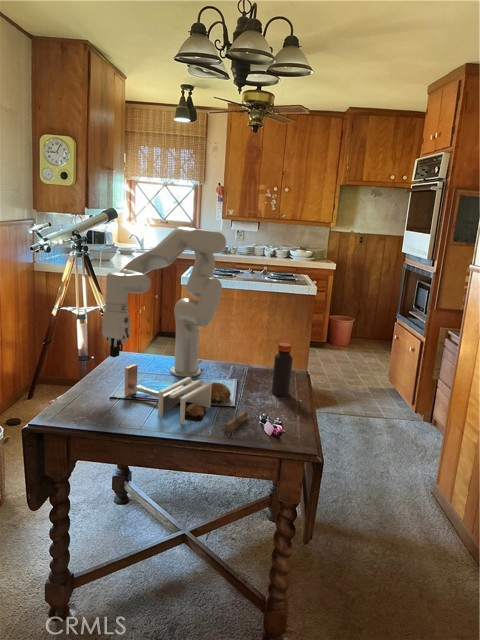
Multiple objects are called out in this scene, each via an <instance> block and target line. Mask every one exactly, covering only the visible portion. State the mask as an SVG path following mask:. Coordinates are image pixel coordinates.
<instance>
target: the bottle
mask: <svg viewBox="0 0 480 640" xmlns="http://www.w3.org/2000/svg"><path fill="white" fill-rule="evenodd" d="M277 351H278V353H276V354H275V356H274V363H273V373H272V384H271V393H272V395H274V396H276V397H281V398H282V397H287V396H289V394H290V387H291V378H292V369H293V356H292V355H291V352H292V344H290V343H288V342H280V343H278V347H277Z"/></svg>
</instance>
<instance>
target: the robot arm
mask: <svg viewBox="0 0 480 640" xmlns="http://www.w3.org/2000/svg"><path fill="white" fill-rule="evenodd" d="M226 246H227V238H226V237H225V235H224V234H223V233H222V232H220V231H213V230H208V229H199V228H194V227H185V226H178V227H175V228H174V229H173V230H172V231H171V232H170V233H169V234H168V235H166V237H165V238H163V240H161V241H160V242H159V243H158V244H157V245H156V246H155V247H154V248H152V249H150V250H148V251H145V252H144V253H142V254H140V255H138V256H136V257H134V258H133V259H132V260H130V261H129V262H128V263H127V264H126V265H125V266H124V267H123V268H121V270H120V271H119V272H118V271H117V272H116V271H115V272H114V271H113V272H108V273H107V274H106V278H105V307H104V308H105V309H104V310H103V315H102V322H101V335H102V338H103V339H104V340H107V343H108V346H110V347H109V348H110V349H109V357H110V358H117V357H120V348H121V346H122V344H128V339H129V338H131V316H130V312H129V308H130V307H129V306H128V296H129V295H128V294H138V295H139V294H144V293H147V292H148V291H149V290H150V289H151V285H152V281H151V279H150V277H149V276H148V275H147V273H148V272H152V271H153V270H154V271H155V270H158V269H163V268H166V267H170V266H171V264H172V263H173V262H174V261H176V259H178V258H179V257H180V256H181V254H184V253H183V252H185V251H191V252H194V258H195V259H194V264H193V265H192V269H191V272H190V275H189V278H188V280H187V284H186V291H187V293H188V294H189V295H190V296H193V297H195V298H199V300H196V299H193V298H189V297H188V298H187V297H185V298H180V299H179V300H178V301H177V302H176V303H175V305H174V311H173V312H174V313H173V314H174V320H175V345H174V346H175V347H174V365H173V366H172V367H171V368H170V373H171V374H172V375H174V376H176V377H179V378H180V377H181V378H187V377H191V378H192V377H196V376H199V375H200V374H201V368H200V367H199V365H200V364H202V363H203V359H202V358H198V356H199V341H200V340H199V339H200V330H199V329H200V328H199V327H207V326H208V325H209V324H210V323H212V321H213V319H214V317H215V315H216V311H217V308H218V306H219V302H220V300H221V298H222V294H223V285H222V283H221V281H220V280H219V279H218V278H216V277H213V275H214V272H215V268H216V258H215V255H214V254H220V253H222V252H223V251H224V250H225V248H226Z"/></svg>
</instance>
